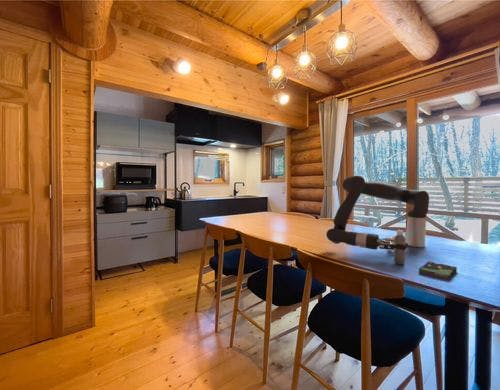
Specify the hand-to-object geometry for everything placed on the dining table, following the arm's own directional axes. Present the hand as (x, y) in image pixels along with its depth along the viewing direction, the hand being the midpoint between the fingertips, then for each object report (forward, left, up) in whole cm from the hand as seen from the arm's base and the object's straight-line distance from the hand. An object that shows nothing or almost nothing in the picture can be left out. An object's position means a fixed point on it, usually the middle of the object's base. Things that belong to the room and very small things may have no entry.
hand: (406, 246), depth 114 cm
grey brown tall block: (-2, -2, -8) cm, 8 cm away
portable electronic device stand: (-18, +12, -9) cm, 24 cm away
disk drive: (+11, +6, -10) cm, 15 cm away
